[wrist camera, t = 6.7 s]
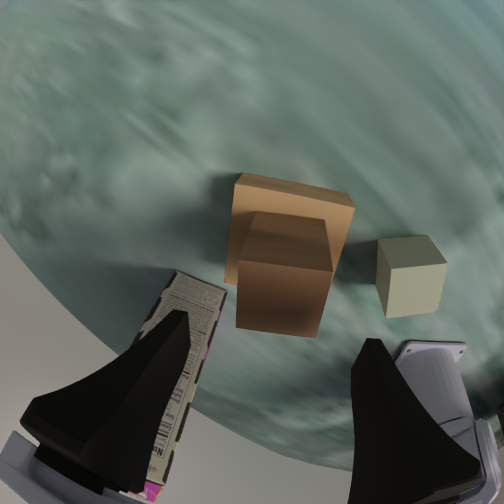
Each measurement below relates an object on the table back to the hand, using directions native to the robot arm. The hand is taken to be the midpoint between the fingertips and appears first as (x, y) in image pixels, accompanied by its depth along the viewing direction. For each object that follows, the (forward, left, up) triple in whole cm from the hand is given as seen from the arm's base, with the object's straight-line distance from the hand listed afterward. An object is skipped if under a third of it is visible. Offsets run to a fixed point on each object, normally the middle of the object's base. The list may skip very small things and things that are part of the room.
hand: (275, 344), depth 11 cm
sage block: (-1, -9, -10) cm, 14 cm away
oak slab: (0, 0, -11) cm, 11 cm away
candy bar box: (-11, +7, -11) cm, 17 cm away
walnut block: (0, 0, -8) cm, 8 cm away
